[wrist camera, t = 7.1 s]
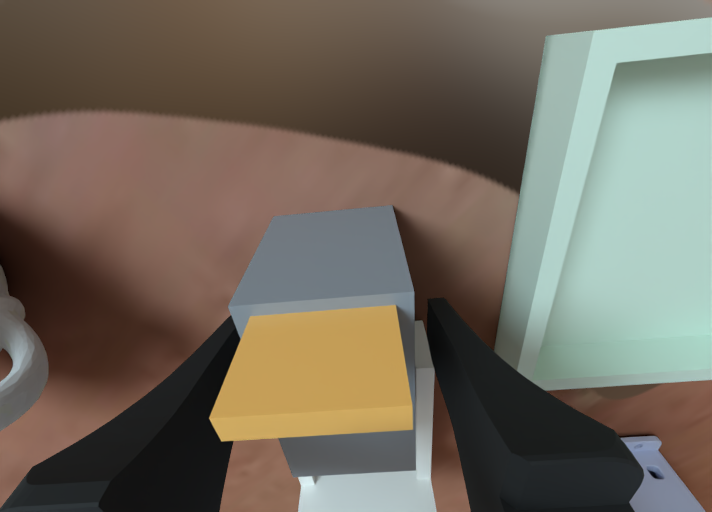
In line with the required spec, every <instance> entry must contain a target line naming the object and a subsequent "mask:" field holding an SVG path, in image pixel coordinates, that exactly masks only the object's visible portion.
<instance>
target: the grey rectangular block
mask: <svg viewBox="0 0 712 512" xmlns="http://www.w3.org/2000/svg"><path fill="white" fill-rule="evenodd" d="M228 308H229V310H230V313H231V316H232V318H233V321H234V324H235V326H236V329H237V331H238V334H239V337H240V339H241V340H240V343H239V345H238V348H237V350H236V353H235V355H234V358H233V360H232V363H231V365H230V368H229V370H228V373H227V375H226V377H225V380H224V382H223V385H222V387H221V390H220V392H219V395H218V397H217V400H216V402H215V405H214V407H213V410H212V412H211V415H210V417H209V419H210V421H211V423H212V425H213V427H214V429H215V431H216V432H217V434H218V436H219V438H220V440H221V441H237V440H253V439H270V438H278V439H279V442H280V444H281V447H282V449H283V452H284V455H285V457H286V460H287V462H288V465H289V468H290V470H291V473H292V476H293V477H307V476H325V475H344V474H362V473H380V472H398V471H416V416H415V311H414V288H413V284H412V281H411V277H410V273H409V269H408V265H407V261H406V257H405V253H404V249H403V245H402V241H401V237H400V233H399V229H398V225H397V222H396V218H395V214H394V210H393V206H392V205H390V206H379V207H368V208H358V209H347V210H336V211H326V212H315V213H304V214H294V215H283V216H274V217H273V219H272V221H271V223H270V225H269V227H268V229H267V231H266V233H265V235H264V236H263V238H262V240H261V242H260V244H259V246H258V248H257V250H256V252H255V254H254V256H253V258H252V260H251V262H250V264H249V266H248V268H247V270H246V272H245V274H244V276H243V278H242V280H241V282H240V284H239V286H238V288H237V290H236V292H235V294H234V296H233V298H232V300H231V302H230V304H229V306H228Z"/></svg>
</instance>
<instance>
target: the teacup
mask: <svg viewBox="0 0 712 512" xmlns="http://www.w3.org/2000/svg"><path fill="white" fill-rule="evenodd" d="M24 318H25V309H24V307H23V305H22V303H21V302H20V300H18V299H16V298H14V297H11V296H9V292H8V285H7V281H6V277H5V274H4V271H3V269H2V267H1V265H0V351H1V350H2V348H4V349H5V350H6V351H7V352H8V353H9V355H10V356H11V358H12V361H13V367H12V370H11V372H10V373H9V375H8V376H7V377H6V378H5V379H4V380H2V381H1V382H0V431H1V430H3V429H4V428H6V427H7V426H8V425H10V424H11V423H13V422H14V421H16V420H17V419H18V418H20V417H21V416H22V415H23V414H24V413H25V412H27V411H28V410H29V409H30V408H31V407H32V405H33V404H34V403H35V402H36V401H37V400H38V399H39V397H40V395H41V393H42V391H43V389H44V387H45V385H46V383H47V379H48V358H47V353H46V351H45V348H44V346H43V344H42V342H41V340H40V338H39V337H38V335H37V334H36V333H35V331H34V330H33V329H32V328H31V327H30V326H29V325H28V324H27V323H26V322H25V321H24Z"/></svg>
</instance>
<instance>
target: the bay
mask: <svg viewBox="0 0 712 512" xmlns="http://www.w3.org/2000/svg"><path fill="white" fill-rule="evenodd" d="M434 374H435V369H434V366H433V363H432V359H431V355H430V350H429V345H428V340H427V336H426V332H425V328H424V324H423V320H420V321H415V416H416V471H398V472H380V473H362V474H344V475H325V476H307V477H298V478H299V481H300V484H301V492H300V501H299V509H298V512H437V511H436V506H435V500H434V495H433V489H432V484H431V455H432V428H433V401H434Z"/></svg>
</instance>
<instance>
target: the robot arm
mask: <svg viewBox="0 0 712 512" xmlns="http://www.w3.org/2000/svg"><path fill="white" fill-rule="evenodd" d="M240 340H241V339H240V337H239V334H238V331H237V329H236V326H235V324H234V321H233V318H232V316H230V317H229V318H227V319H226V320H225V321H224V323H223V324H222V325H221V326H220V327H219V328H218V329H217V330H216V331H215V332H214V333H213V334H212V335H211V336H210V337H209V338H208V339H207V340H206V341H205V342H204V343H203V344H202V345H201V346H200V347H199V348H198V349H197V350H196V351H195V352H194V353H193V354H192V355H191V356H190V357H189V358H188V359H187V360H186V361H185V362H184V363H183V364H182V365H181V366H179V367H178V368H177V369H176V370H175V371H174V372H173V373H172V374H171V375H170V376H169V377H167V378H166V379H165V380H164V381H163V382H162V383H160V384H159V385H158V386H157V387H155V388H154V389H153V390H152V391H151V392H149V393H148V394H147V395H145V396H144V397H143V398H142V399H140V400H139V401H137V402H136V403H135V404H133V405H132V406H131V407H129V408H128V409H126V410H125V411H124V412H122V413H121V414H119V415H118V416H117V417H115V418H114V419H112V420H111V421H109V422H108V423H106V424H105V425H103V426H102V427H100V428H99V429H97V430H95V431H94V432H92V433H91V434H89V435H87V436H86V437H84V438H83V439H81V440H79V441H78V442H76V443H74V444H73V445H71V446H69V447H67V448H66V449H64V450H62V451H60V452H59V453H57V454H55V455H53V456H52V457H50V458H48V459H46V460H44V461H43V462H41V463H39V464H37V465H35V466H33V467H32V468H31V469H30V471H29V472H28V473H27V475H26V476H25V477H24V479H23V480H22V481H21V482H20V484H19V485H18V486H17V488H16V489H15V490H14V491H13V493H12V494H11V495H10V497H9V498H8V499H7V500H6V502H5V503H4V504H3V506H2V507H1V508H0V512H219V510H220V504H221V498H222V493H223V488H224V483H225V478H226V473H227V468H228V463H229V458H230V454H231V449H232V445H233V441H221V440H220V438H219V436H218V434H217V432H216V431H215V429H214V427H213V425H212V423H211V421H210V419H209V417H210V415H211V412H212V410H213V407H214V405H215V402H216V400H217V397H218V395H219V392H220V390H221V387H222V385H223V382H224V380H225V377H226V375H227V373H228V370H229V368H230V365H231V363H232V360H233V358H234V355H235V353H236V350H237V348H238V345H239V343H240ZM427 340H428V345H429V350H430V355H431V359H432V363H433V366H434V369H435V372H436V376H437V379H438V382H439V385H440V388H441V391H442V394H443V397H444V400H445V403H446V406H447V409H448V412H449V415H450V419H451V422H452V426H453V430H454V434H455V439H456V443H457V448H458V452H459V457H460V461H461V466H462V470H463V475H464V480H465V484H466V489H467V494H468V499H469V504H470V509H471V512H706V511H705V510H704V509H703V507H702V506H701V505H700V504H699V502H698V501H697V500H696V498H695V497H694V496H693V494H692V493H691V492H690V491H689V489H688V488H687V487H686V485H685V484H684V483H683V482H682V480H681V479H680V478H679V476H678V475H677V474H676V472H675V471H674V470H673V469H672V467H671V466H670V465H669V463H668V462H667V461H666V460H665V458H664V457H663V456H662V454H661V453H660V452H659V450H658V449H659V448H660V446H661V444H662V442H661V441H660V440H659V438H658V437H656V436H639V437H622V438H620V437H619V436H618V435H617V433H616V432H615V431H614V430H612V429H611V428H609V427H607V426H605V425H603V424H601V423H599V422H597V421H595V420H594V419H592V418H590V417H588V416H586V415H584V414H582V413H580V412H579V411H577V410H575V409H573V408H572V407H570V406H568V405H567V404H565V403H563V402H562V401H560V400H558V399H557V398H555V397H554V396H552V395H551V394H549V393H547V392H546V391H545V390H543V389H542V388H540V387H539V386H537V385H536V384H534V383H533V382H531V381H530V380H528V379H527V378H526V377H524V376H523V375H522V374H520V373H519V372H518V371H516V370H515V369H514V368H513V367H512V366H510V365H509V364H508V363H507V362H505V361H504V360H503V359H502V358H501V357H500V356H498V355H497V354H496V353H495V352H494V351H493V350H492V349H491V348H490V347H489V346H488V345H487V344H485V343H484V342H483V341H482V340H481V339H480V338H479V337H478V336H477V335H476V333H475V332H474V331H473V330H472V329H471V328H470V327H469V326H468V325H467V324H466V323H465V322H464V321H463V319H462V318H461V317H460V316H459V315H458V314H457V313H456V311H455V310H454V309H453V308H452V306H451V305H450V304H449V303H448V301H447V300H446V299H445V298H433V299H428V313H427Z"/></svg>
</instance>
